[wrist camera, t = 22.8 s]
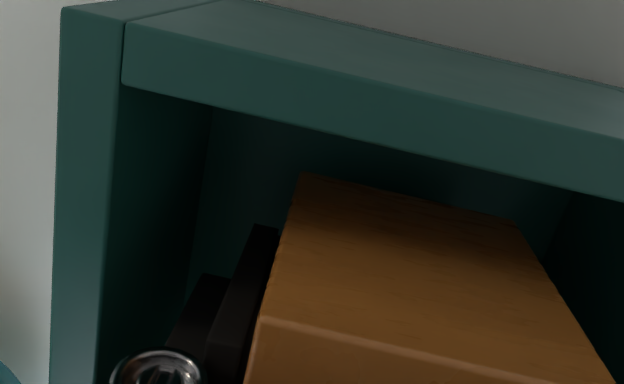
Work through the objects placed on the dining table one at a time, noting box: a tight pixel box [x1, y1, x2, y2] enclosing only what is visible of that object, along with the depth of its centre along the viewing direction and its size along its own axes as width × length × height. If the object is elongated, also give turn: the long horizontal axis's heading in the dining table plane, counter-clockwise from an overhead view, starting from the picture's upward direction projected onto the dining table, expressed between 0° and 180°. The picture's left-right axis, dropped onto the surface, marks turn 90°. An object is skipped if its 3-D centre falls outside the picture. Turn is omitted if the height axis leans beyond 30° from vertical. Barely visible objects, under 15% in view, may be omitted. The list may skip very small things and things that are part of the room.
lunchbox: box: [49, 0, 624, 384], centre depth 12 cm, size 14×11×7 cm
